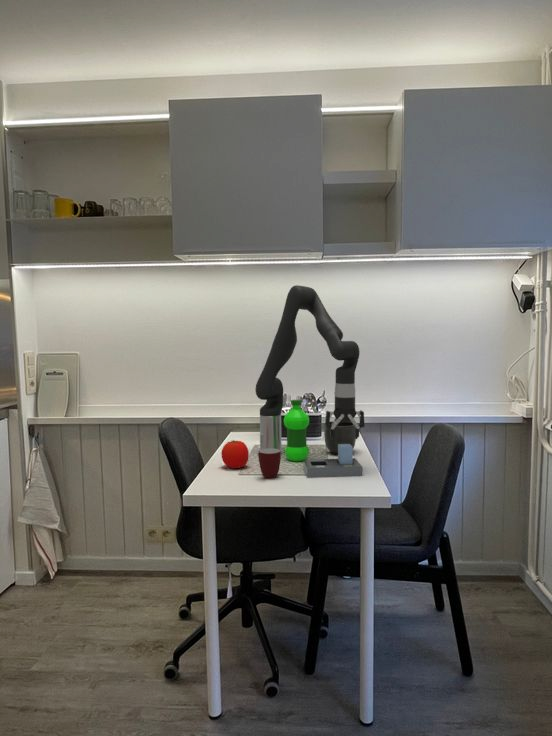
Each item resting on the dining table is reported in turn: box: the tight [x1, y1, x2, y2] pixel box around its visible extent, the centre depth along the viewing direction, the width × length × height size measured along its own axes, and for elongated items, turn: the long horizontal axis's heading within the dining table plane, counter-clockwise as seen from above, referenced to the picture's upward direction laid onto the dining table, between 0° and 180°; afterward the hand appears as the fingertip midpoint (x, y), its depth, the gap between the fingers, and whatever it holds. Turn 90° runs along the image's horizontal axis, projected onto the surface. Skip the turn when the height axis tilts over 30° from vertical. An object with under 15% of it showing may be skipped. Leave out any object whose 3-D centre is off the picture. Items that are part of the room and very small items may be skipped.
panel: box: [302, 457, 363, 479], centre depth 185 cm, size 20×12×4 cm, turn 94°
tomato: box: [220, 439, 249, 469], centre depth 195 cm, size 10×11×11 cm
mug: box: [258, 448, 282, 480], centre depth 181 cm, size 10×8×10 cm
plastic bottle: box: [283, 399, 310, 462], centre depth 203 cm, size 10×10×25 cm
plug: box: [337, 444, 353, 465], centre depth 185 cm, size 4×4×10 cm
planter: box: [323, 420, 357, 456], centre depth 216 cm, size 14×14×13 cm
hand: (344, 438), depth 184 cm, fingers open, 8 cm apart
